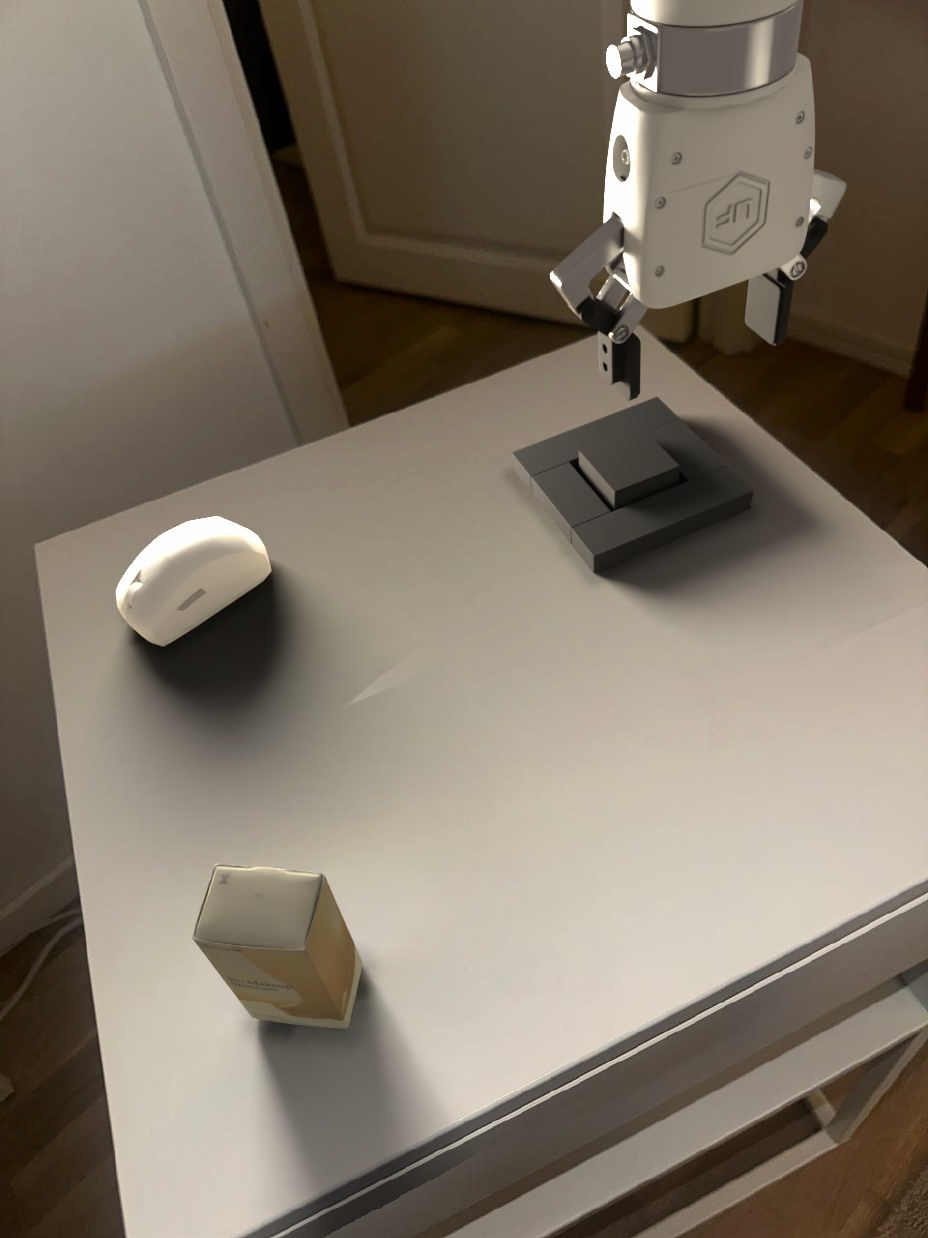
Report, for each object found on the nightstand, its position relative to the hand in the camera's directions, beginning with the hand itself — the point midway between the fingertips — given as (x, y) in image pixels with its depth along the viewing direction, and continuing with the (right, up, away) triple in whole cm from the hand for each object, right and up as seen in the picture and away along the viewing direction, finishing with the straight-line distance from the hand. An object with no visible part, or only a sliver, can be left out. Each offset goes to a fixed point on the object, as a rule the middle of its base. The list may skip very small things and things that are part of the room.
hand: (693, 360), depth 57 cm
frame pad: (+1, -4, +27) cm, 27 cm away
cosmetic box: (-23, -38, +2) cm, 44 cm away
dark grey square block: (+1, -4, +27) cm, 27 cm away
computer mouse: (-36, -13, +25) cm, 45 cm away
